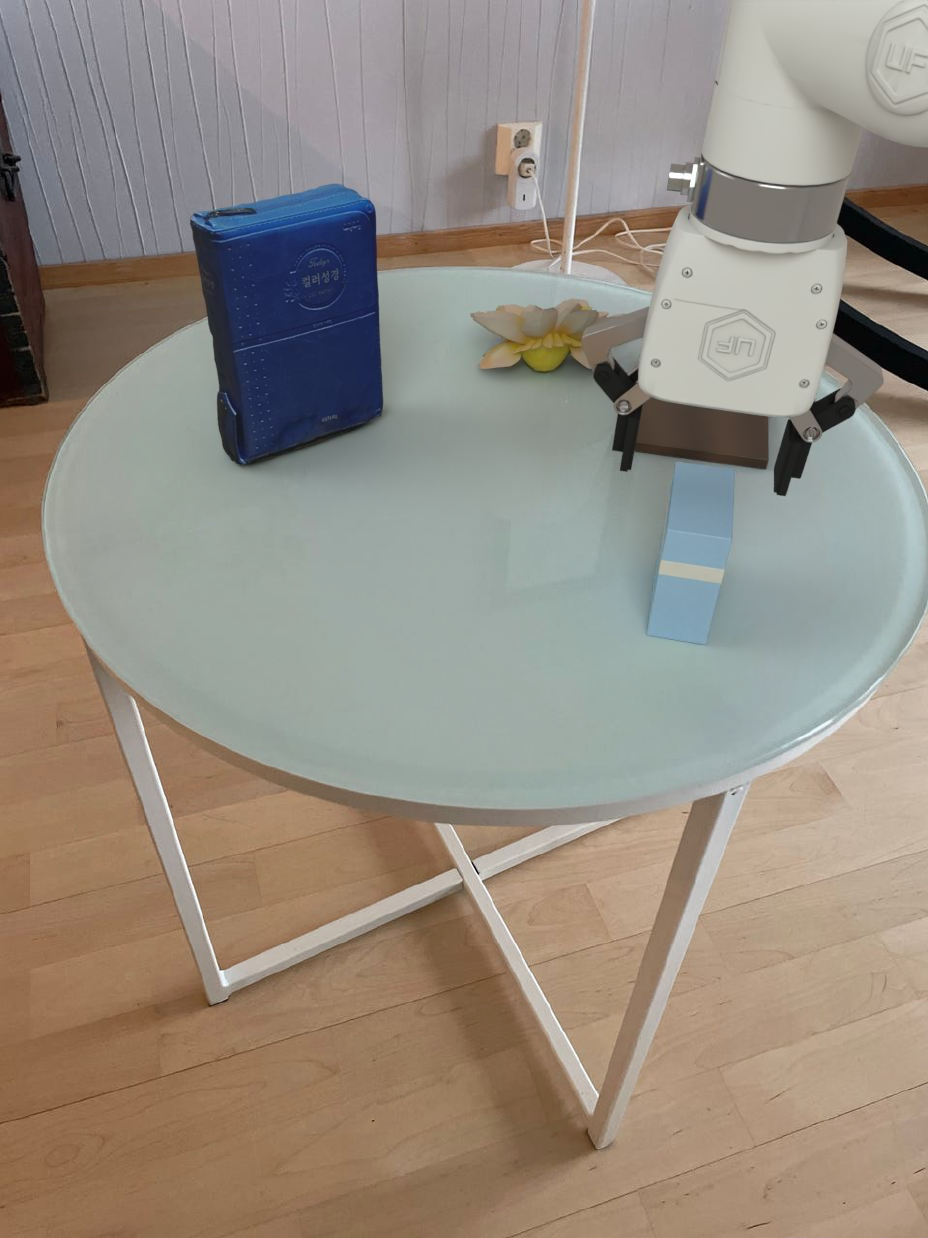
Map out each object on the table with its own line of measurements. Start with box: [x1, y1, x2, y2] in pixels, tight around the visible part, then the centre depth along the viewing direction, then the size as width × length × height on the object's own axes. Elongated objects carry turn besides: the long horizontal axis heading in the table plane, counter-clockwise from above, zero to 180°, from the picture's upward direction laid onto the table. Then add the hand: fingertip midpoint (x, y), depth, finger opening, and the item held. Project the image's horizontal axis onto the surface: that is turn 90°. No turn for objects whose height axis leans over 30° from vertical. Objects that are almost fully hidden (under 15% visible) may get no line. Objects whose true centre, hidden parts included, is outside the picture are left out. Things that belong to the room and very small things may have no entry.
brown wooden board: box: [634, 397, 770, 470], centre depth 90 cm, size 12×16×1 cm
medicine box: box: [646, 461, 736, 646], centre depth 68 cm, size 4×8×9 cm, turn 167°
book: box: [189, 183, 384, 466], centre depth 79 cm, size 14×5×20 cm, turn 126°
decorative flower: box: [469, 298, 626, 373], centre depth 94 cm, size 15×11×10 cm
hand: (702, 471), depth 64 cm, fingers open, 9 cm apart
